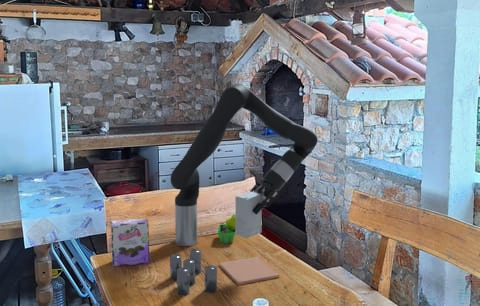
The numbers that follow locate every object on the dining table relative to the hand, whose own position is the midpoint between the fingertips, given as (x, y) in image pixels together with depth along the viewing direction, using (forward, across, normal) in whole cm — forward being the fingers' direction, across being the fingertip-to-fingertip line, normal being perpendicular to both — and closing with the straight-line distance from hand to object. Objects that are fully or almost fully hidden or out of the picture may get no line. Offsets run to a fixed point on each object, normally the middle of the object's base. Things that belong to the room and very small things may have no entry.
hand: (249, 209), depth 172 cm
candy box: (+44, -25, -11) cm, 51 cm away
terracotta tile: (+17, 0, +16) cm, 23 cm away
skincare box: (+7, 0, +6) cm, 9 cm away
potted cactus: (+13, -34, +21) cm, 42 cm away
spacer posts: (+33, +1, 0) cm, 33 cm away
